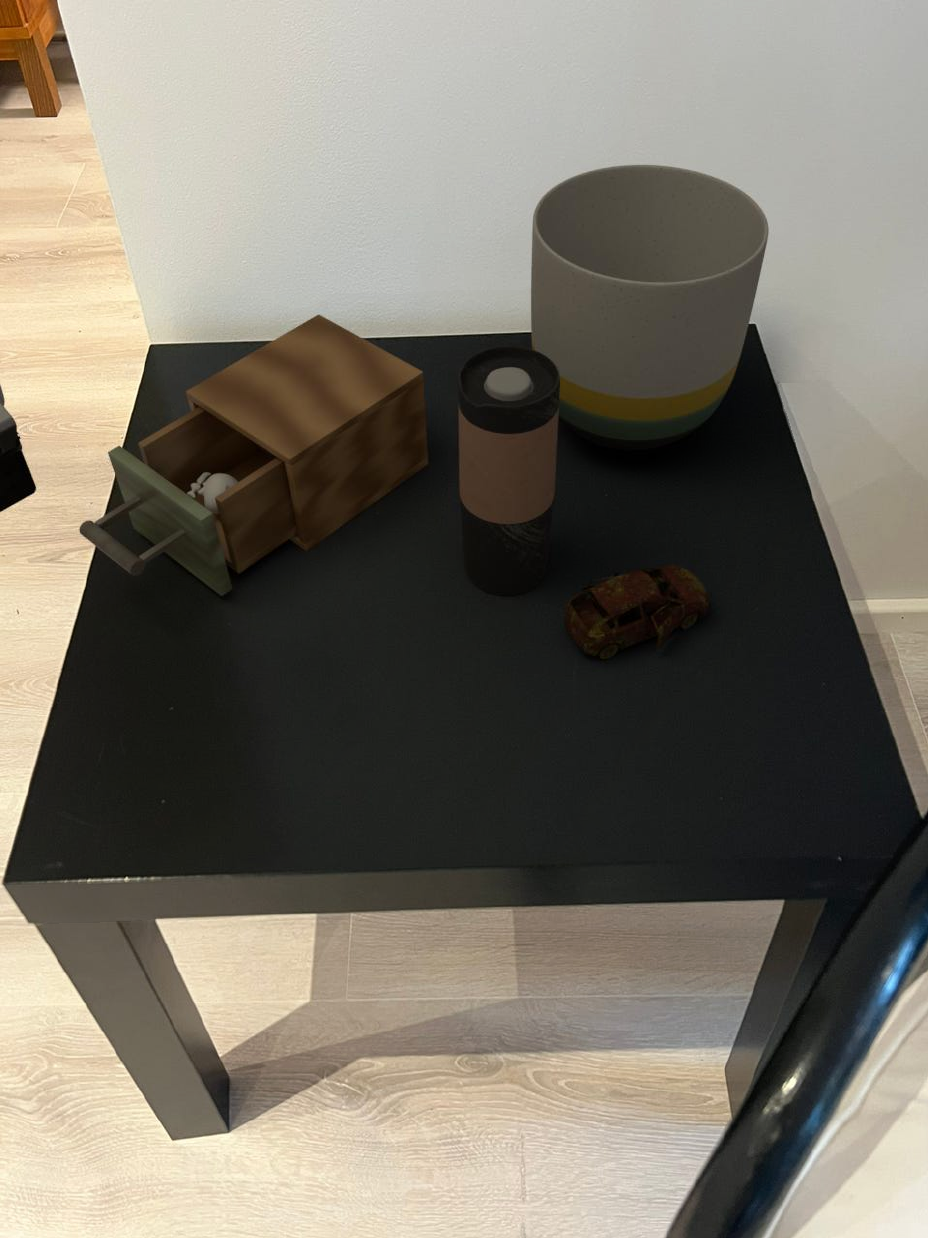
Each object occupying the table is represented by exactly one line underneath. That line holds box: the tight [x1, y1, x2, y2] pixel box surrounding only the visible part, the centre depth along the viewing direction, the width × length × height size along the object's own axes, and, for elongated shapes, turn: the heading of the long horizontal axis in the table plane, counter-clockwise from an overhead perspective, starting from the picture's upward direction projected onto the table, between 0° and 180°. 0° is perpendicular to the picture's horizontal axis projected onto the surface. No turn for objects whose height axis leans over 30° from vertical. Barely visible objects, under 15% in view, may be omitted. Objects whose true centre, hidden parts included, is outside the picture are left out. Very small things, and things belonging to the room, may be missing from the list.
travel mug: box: [457, 345, 560, 597], centre depth 87 cm, size 8×8×20 cm
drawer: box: [78, 407, 298, 597], centre depth 93 cm, size 20×12×9 cm, turn 137°
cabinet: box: [185, 314, 429, 552], centre depth 99 cm, size 16×14×11 cm
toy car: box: [563, 564, 710, 660], centre depth 88 cm, size 12×7×5 cm, turn 115°
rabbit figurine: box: [187, 472, 238, 514], centre depth 95 cm, size 6×4×8 cm
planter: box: [530, 164, 770, 451], centre depth 99 cm, size 20×20×21 cm
